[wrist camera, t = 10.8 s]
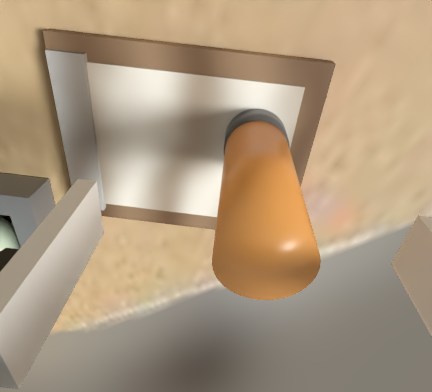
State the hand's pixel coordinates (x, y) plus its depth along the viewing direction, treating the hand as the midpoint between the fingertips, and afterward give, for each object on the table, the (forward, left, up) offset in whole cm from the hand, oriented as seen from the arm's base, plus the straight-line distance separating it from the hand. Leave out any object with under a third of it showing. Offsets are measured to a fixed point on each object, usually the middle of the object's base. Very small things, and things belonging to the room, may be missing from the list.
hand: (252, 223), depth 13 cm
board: (-5, -2, -11) cm, 12 cm away
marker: (0, 0, -10) cm, 10 cm away
